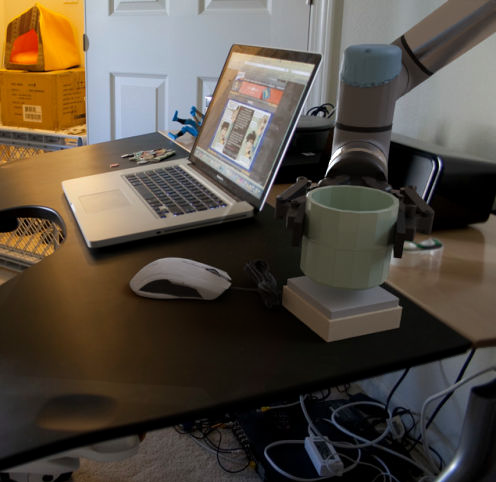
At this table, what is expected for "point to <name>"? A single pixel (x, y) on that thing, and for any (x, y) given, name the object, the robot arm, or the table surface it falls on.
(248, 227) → the table surface
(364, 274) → the pale green cup
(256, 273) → the computer mouse
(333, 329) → the scale
